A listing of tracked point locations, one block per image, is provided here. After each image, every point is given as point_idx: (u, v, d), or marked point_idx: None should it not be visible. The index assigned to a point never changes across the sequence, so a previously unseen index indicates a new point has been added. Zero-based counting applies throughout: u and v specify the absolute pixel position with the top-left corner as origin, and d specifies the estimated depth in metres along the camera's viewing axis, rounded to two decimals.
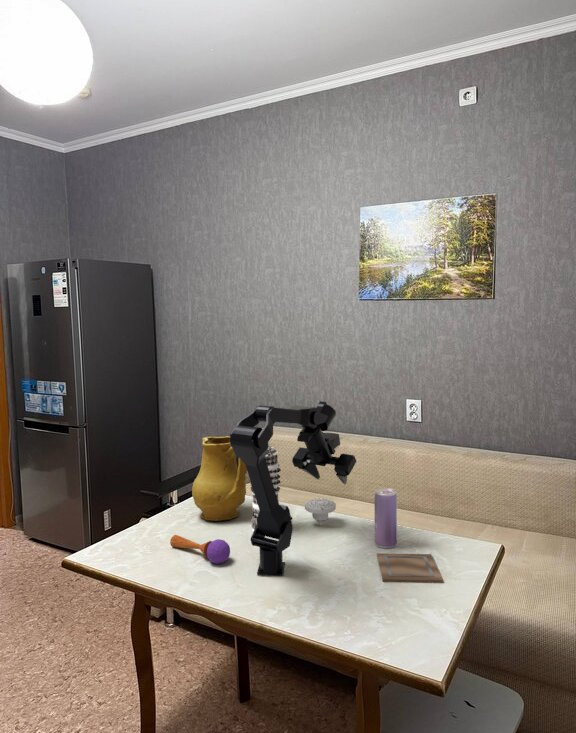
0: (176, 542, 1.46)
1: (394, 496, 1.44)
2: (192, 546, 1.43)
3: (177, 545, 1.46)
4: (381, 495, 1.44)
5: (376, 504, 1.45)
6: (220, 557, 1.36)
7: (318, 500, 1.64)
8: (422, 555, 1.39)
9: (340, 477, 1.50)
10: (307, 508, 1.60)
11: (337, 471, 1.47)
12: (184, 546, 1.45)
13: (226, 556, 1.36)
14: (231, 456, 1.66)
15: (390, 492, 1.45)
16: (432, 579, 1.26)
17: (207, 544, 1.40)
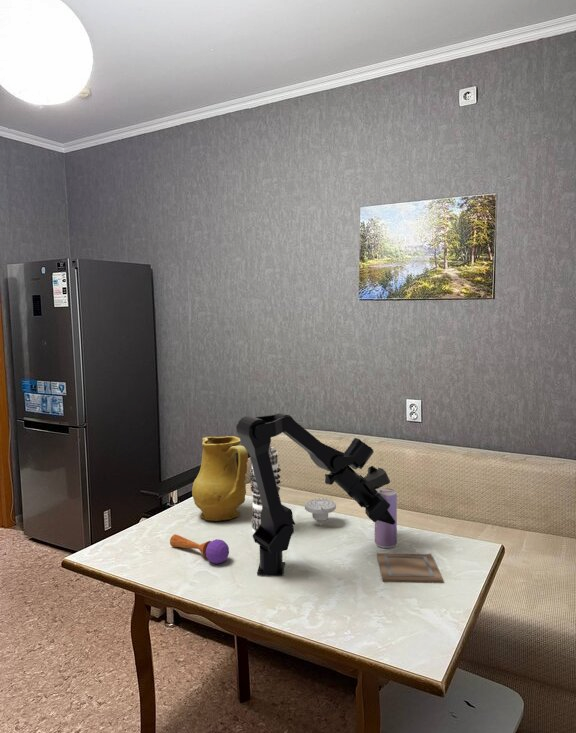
0: (175, 541, 1.46)
1: (394, 496, 1.44)
2: (191, 546, 1.43)
3: (177, 545, 1.46)
4: (381, 495, 1.44)
5: None
6: (219, 557, 1.36)
7: (318, 500, 1.64)
8: (422, 555, 1.39)
9: None
10: (307, 508, 1.60)
11: None
12: (183, 546, 1.45)
13: (225, 556, 1.36)
14: (231, 456, 1.66)
15: (390, 492, 1.45)
16: (432, 579, 1.26)
17: (206, 544, 1.40)
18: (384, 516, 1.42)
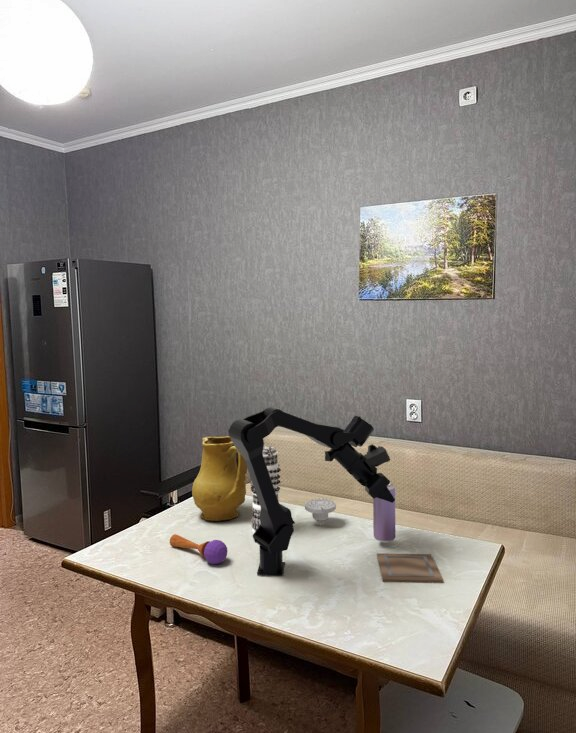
0: (175, 541, 1.47)
1: (392, 490, 1.43)
2: (190, 546, 1.43)
3: (176, 545, 1.46)
4: None
5: None
6: (217, 558, 1.35)
7: (318, 500, 1.64)
8: (422, 555, 1.39)
9: None
10: (307, 508, 1.60)
11: (367, 492, 1.38)
12: (183, 546, 1.45)
13: (223, 556, 1.36)
14: (231, 456, 1.66)
15: (388, 486, 1.45)
16: (432, 579, 1.26)
17: (205, 544, 1.40)
18: (384, 493, 1.41)
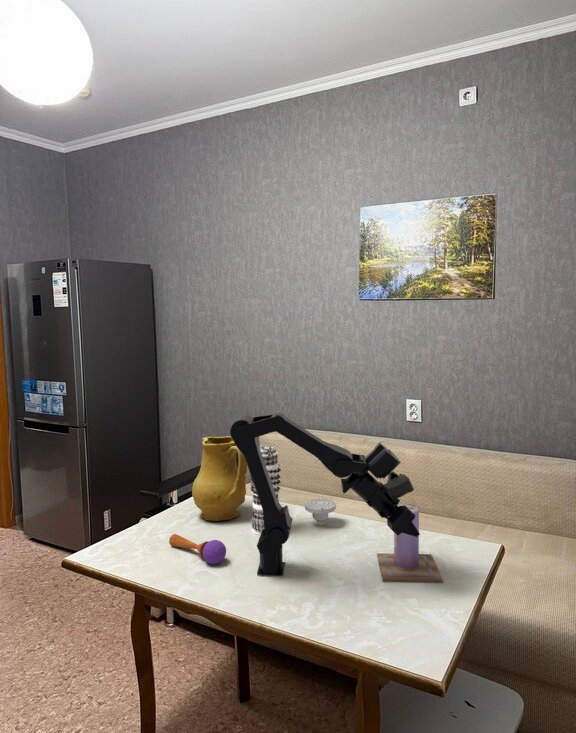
0: (174, 541, 1.47)
1: (416, 513, 1.30)
2: (190, 546, 1.43)
3: (176, 544, 1.47)
4: None
5: None
6: (215, 558, 1.35)
7: (318, 500, 1.64)
8: (422, 555, 1.39)
9: None
10: (307, 508, 1.60)
11: None
12: (182, 545, 1.45)
13: (221, 556, 1.36)
14: (231, 456, 1.66)
15: (411, 508, 1.31)
16: (432, 579, 1.26)
17: (203, 544, 1.40)
18: (407, 527, 1.28)
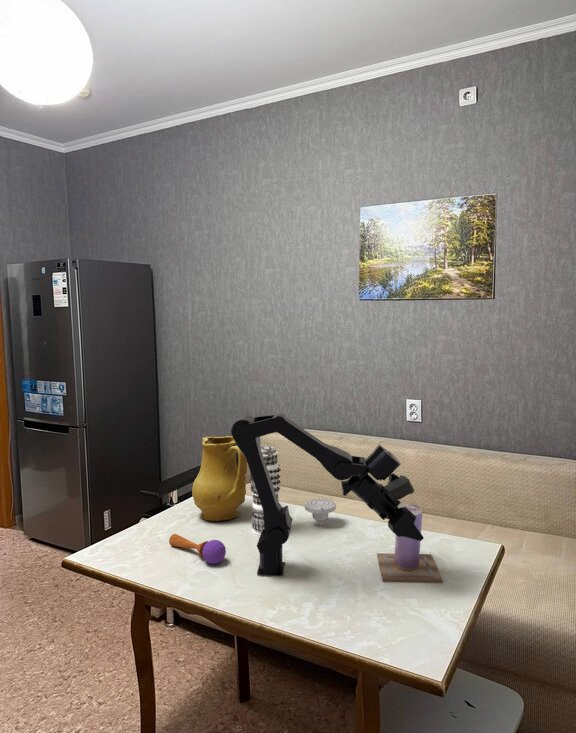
0: (174, 541, 1.47)
1: (419, 515, 1.28)
2: (189, 546, 1.43)
3: (175, 544, 1.47)
4: None
5: None
6: (215, 558, 1.35)
7: (318, 500, 1.64)
8: (422, 555, 1.39)
9: None
10: (307, 508, 1.60)
11: None
12: (182, 545, 1.45)
13: (221, 556, 1.36)
14: (231, 456, 1.66)
15: (415, 510, 1.29)
16: (432, 579, 1.26)
17: (203, 544, 1.40)
18: (411, 532, 1.26)
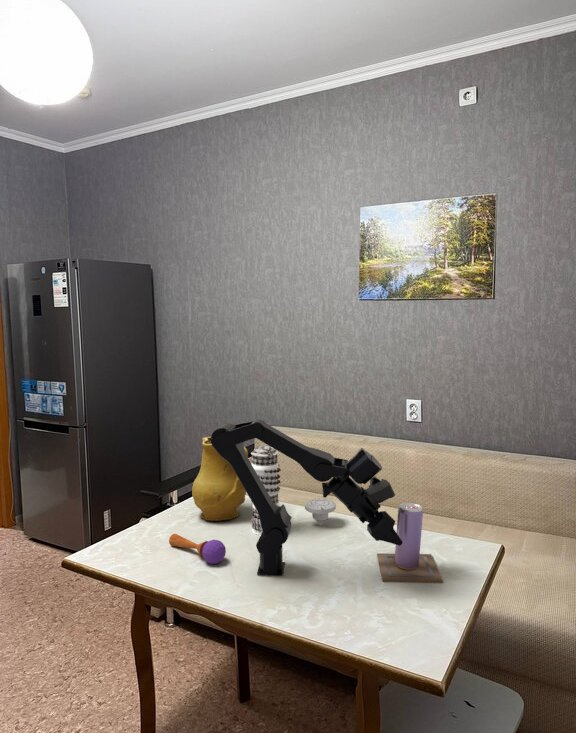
0: (174, 541, 1.47)
1: (420, 513, 1.30)
2: (189, 545, 1.44)
3: (175, 544, 1.47)
4: (405, 510, 1.30)
5: (399, 519, 1.31)
6: (215, 558, 1.35)
7: (318, 500, 1.64)
8: (422, 555, 1.39)
9: None
10: (307, 508, 1.60)
11: None
12: (182, 545, 1.45)
13: (221, 556, 1.36)
14: None
15: (416, 508, 1.31)
16: (432, 579, 1.26)
17: (203, 544, 1.40)
18: (390, 536, 1.25)
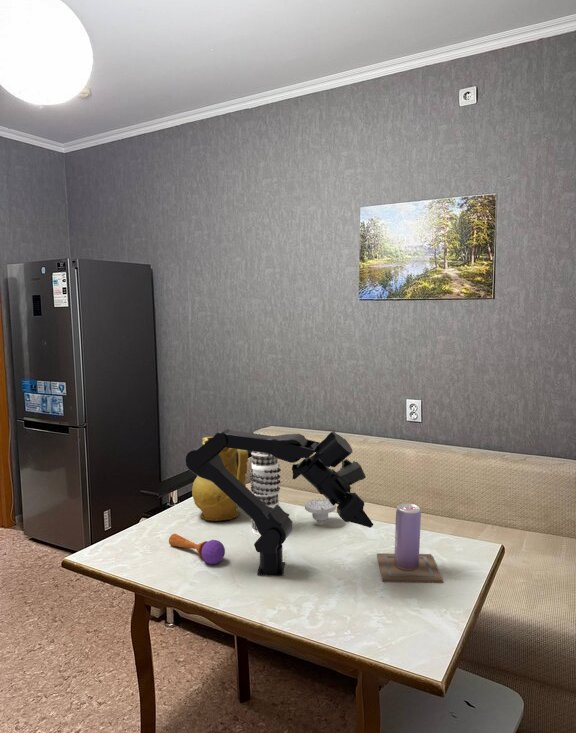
0: (174, 541, 1.47)
1: (418, 514, 1.29)
2: (189, 546, 1.44)
3: (175, 544, 1.47)
4: (403, 512, 1.29)
5: (397, 521, 1.31)
6: (214, 558, 1.35)
7: (318, 500, 1.64)
8: (422, 555, 1.39)
9: None
10: (307, 508, 1.60)
11: None
12: (181, 545, 1.45)
13: (220, 556, 1.36)
14: (231, 456, 1.66)
15: (414, 509, 1.31)
16: (432, 579, 1.26)
17: (202, 544, 1.40)
18: (360, 518, 1.24)
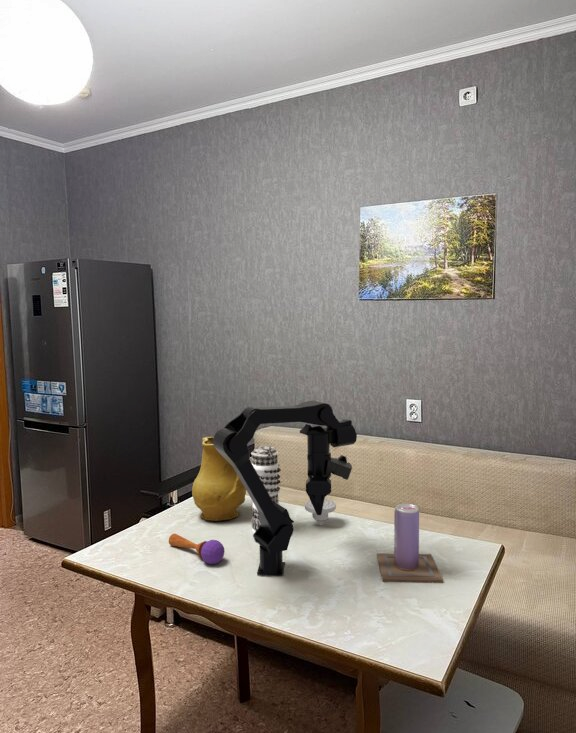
0: (174, 540, 1.47)
1: (416, 513, 1.29)
2: (188, 545, 1.44)
3: (175, 544, 1.47)
4: (402, 512, 1.29)
5: (396, 521, 1.31)
6: (213, 558, 1.35)
7: None
8: (422, 555, 1.39)
9: (308, 495, 1.33)
10: (307, 508, 1.60)
11: None
12: (181, 545, 1.45)
13: (219, 556, 1.36)
14: None
15: (412, 508, 1.31)
16: (432, 579, 1.26)
17: (202, 544, 1.40)
18: (317, 501, 1.33)
